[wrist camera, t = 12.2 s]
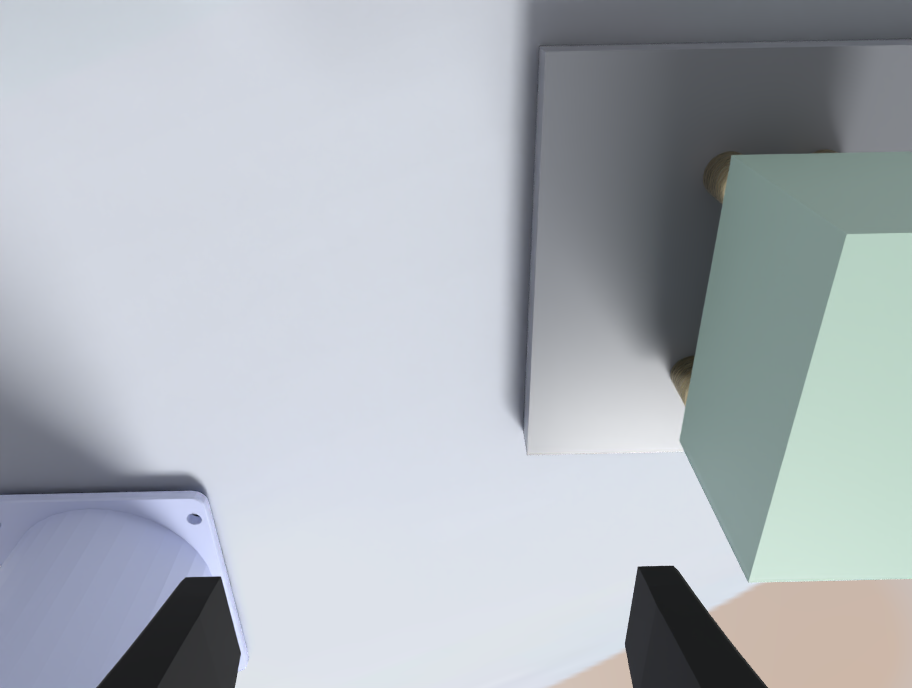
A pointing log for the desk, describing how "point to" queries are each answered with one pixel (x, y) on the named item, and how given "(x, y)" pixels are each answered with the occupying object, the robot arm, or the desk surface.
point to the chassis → (665, 209)
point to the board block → (809, 368)
